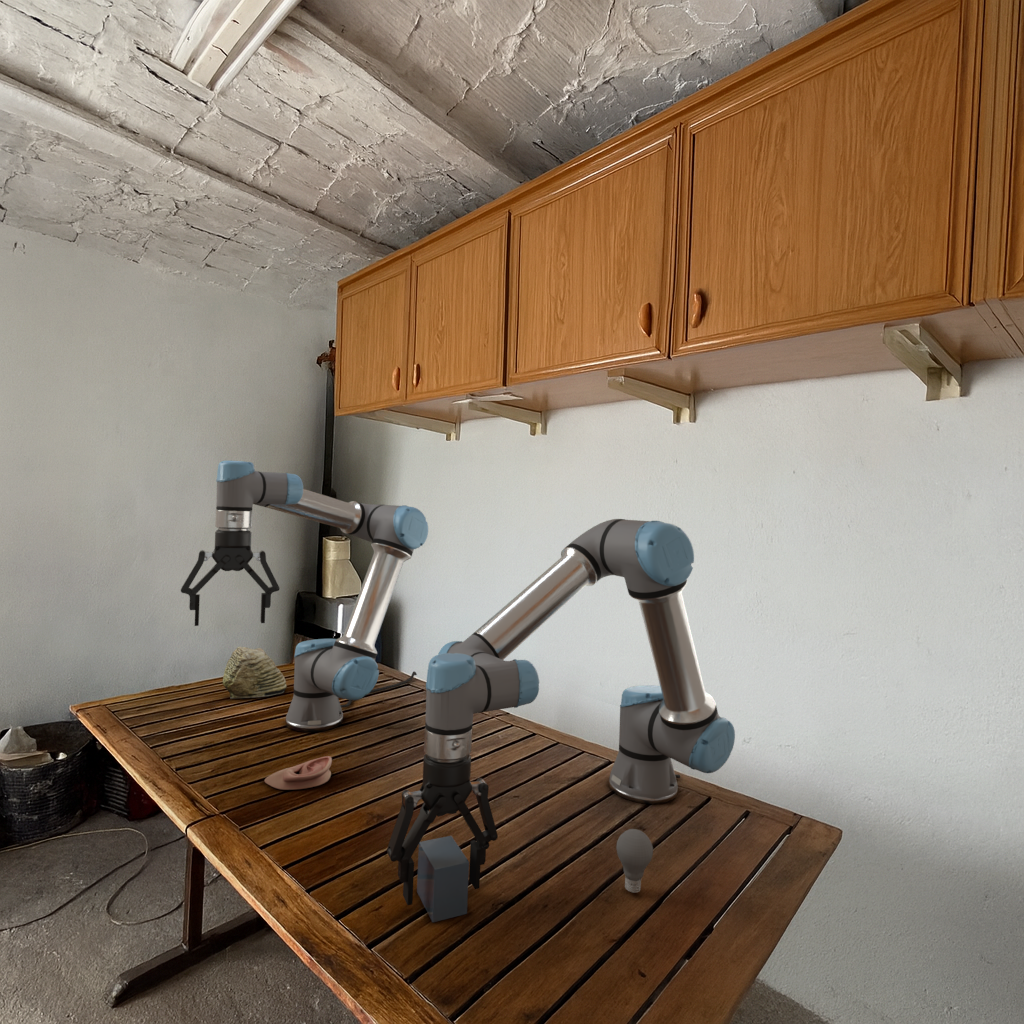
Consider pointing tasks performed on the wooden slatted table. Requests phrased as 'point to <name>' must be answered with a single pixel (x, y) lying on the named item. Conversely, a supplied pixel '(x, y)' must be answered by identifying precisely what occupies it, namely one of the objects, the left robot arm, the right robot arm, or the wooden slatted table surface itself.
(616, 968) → the wooden slatted table surface
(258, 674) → the fossil
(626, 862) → the light bulb
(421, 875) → the dark grey boxy piece
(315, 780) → the anatomical model
